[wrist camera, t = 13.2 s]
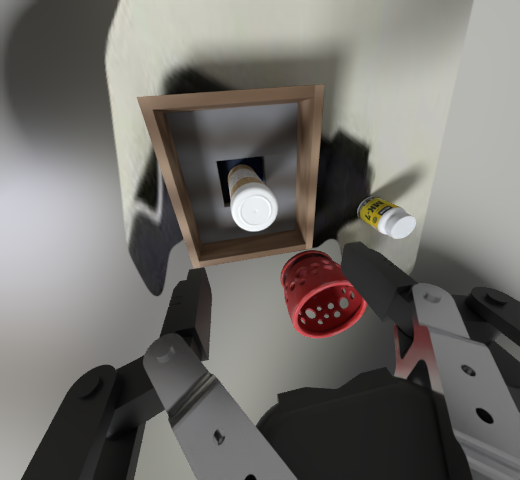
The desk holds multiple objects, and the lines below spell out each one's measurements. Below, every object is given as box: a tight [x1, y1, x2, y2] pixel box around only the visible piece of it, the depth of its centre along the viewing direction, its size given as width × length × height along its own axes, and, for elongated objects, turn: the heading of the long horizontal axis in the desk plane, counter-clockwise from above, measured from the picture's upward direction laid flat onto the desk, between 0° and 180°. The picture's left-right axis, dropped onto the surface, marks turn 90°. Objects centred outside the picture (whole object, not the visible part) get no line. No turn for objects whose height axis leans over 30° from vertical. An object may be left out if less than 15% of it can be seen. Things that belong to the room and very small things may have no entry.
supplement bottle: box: [357, 196, 416, 239], centre depth 32 cm, size 5×5×8 cm
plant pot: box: [281, 250, 367, 338], centre depth 36 cm, size 13×13×12 cm
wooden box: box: [137, 84, 325, 268], centre depth 26 cm, size 20×18×7 cm
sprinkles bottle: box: [228, 165, 278, 231], centre depth 24 cm, size 5×5×13 cm
